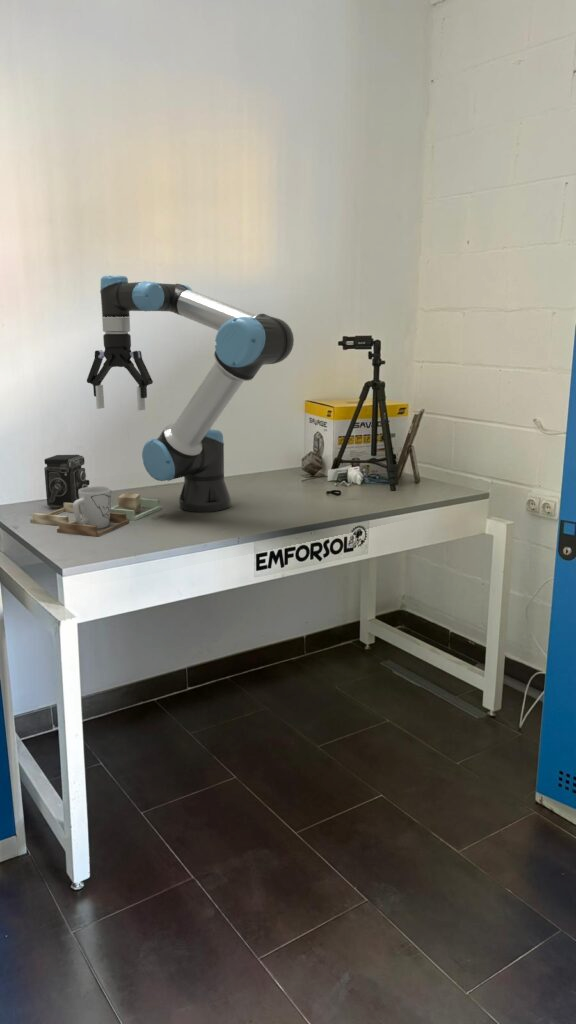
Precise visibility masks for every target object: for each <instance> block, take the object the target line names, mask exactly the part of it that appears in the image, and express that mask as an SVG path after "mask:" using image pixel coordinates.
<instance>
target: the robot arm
mask: <svg viewBox="0 0 576 1024" xmlns="http://www.w3.org/2000/svg"><path fill="white" fill-rule="evenodd" d="M99 293H100V301H101V302H100V304H101V319H102V320H101V321H102V331H103V332H104V334H103V347H104V351H103V350H102V349H101V350H98V349H97V350H95V351H94V359H93V362H92V365H91V367H90V369H89V373H88V375H87V378H86V382H87V383H88V384H90V385H92V386H93V396H94V397H95V398H96V399H95V400H96V409H97V410H99V409H100V410H101V409H104V408H105V399H104V398H105V397H104V396H105V395H104V384H102V382H103V381H104V379H105V378H106V376H107V375H108V373H110V371H111V368H117V367H119V368H125V369H126V370H127V372H128V373H129V374H130V376H132V378H133V379H134V380H135V382H136V383H137V384H138V386H136V394H137V396H136V397H137V411H143V410H144V411H145V410H146V399H147V398H148V388H147V386H151V385H152V384H153V383H154V380H153V379H152V376H151V374H150V372H149V370H148V368H147V366H146V364H145V362H144V359H143V355H142V351H141V350H134V351H131V347H132V338H131V334H130V333H129V332H131V320H130V319H131V318H130V317H131V315H130V312H131V311H132V312H170V313H174V314H177V316H178V315H179V316H181V317H184V318H186V319H188V320H191V321H194V322H195V323H198V324H201V325H203V326H205V327H208V328H211V329H213V330H215V331H217V333H216V336H215V342H216V344H215V345H214V348H215V350H214V353H213V356H214V357H213V358H214V360H215V362H214V363H213V365H212V367H210V369H209V371H208V372H207V374H206V375H205V377H204V379H203V380H202V382H201V383H200V385H199V386H198V387H197V389H196V391H195V392H194V393H193V395H192V397H191V398H190V399H189V402H187V404H186V406H185V407H184V409H183V411H182V412H181V413H180V415H179V416H178V418H177V419H176V421H175V423H169V424H167V425H166V426H165V427H164V428H163V430H162V432H161V433H160V434H159V436H158V437H157V438H151V439H150V440H148V441H146V442H145V443H144V445H143V446H142V452H141V453H142V454H141V457H142V461H143V462H142V463H143V466H144V468H145V469H144V470H145V471H146V472H147V474H148V475H149V476H150V478H152V479H154V480H156V481H158V482H159V481H160V482H165V481H168V482H169V481H172V480H177V479H179V478H184V479H183V480H184V481H183V485H182V487H181V492H180V495H179V499H178V502H179V503H178V505H179V509H181V510H184V511H188V512H194V513H195V512H198V513H199V512H201V513H202V512H203V513H205V512H217V511H218V512H219V511H222V510H225V509H226V510H227V509H229V508H230V507H231V506H232V505H231V504H232V503H231V495H230V493H229V491H228V487H227V484H226V482H225V458H224V457H225V455H224V454H225V453H224V452H225V451H224V449H225V447H224V445H225V443H224V436H223V432H222V431H220V430H219V429H212V427H213V425H215V423H216V422H217V419H218V418H219V417H220V415H222V413H223V411H224V410H225V408H227V406H228V405H229V403H230V401H231V400H232V398H233V397H234V396H235V394H236V393H237V392H238V390H239V388H240V387H242V384H243V383H244V382H247V381H248V382H249V381H252V380H253V379H254V378H255V376H256V375H257V374H258V372H259V371H260V369H261V368H262V367H263V366H264V365H274V364H275V365H276V364H278V363H281V362H283V361H284V360H285V359H286V358H288V357H289V356H290V354H291V352H292V350H293V348H294V341H295V340H294V339H295V338H294V337H295V336H294V333H293V330H292V328H291V327H290V325H289V324H288V323H287V322H286V321H285V320H283V319H280V318H278V317H274V316H272V315H271V316H270V315H268V314H265V313H261V312H260V313H258V314H254V313H251V312H249V311H246V310H244V309H241V308H239V307H236V306H233V305H232V304H231V305H230V304H228V303H225V302H223V301H220V300H218V299H215V298H212V297H210V296H207V295H204V294H202V293H199V292H197V291H194V290H193V289H192V288H191V287H190V286H188V285H185V284H183V283H182V284H181V283H161V282H160V283H159V282H155V281H137V282H136V281H135V282H129V280H128V277H127V276H126V275H119V274H118V275H117V274H115V275H114V274H113V275H102V277H101V278H100V290H99ZM104 358H105V359H106V360H105V361H104V363H103V360H104ZM131 358H132V359H133V361H132V360H131ZM133 362H134V363H135V364H134V363H133ZM102 363H103V365H102ZM135 365H136V366H135ZM101 366H102V367H101ZM100 368H101V369H100Z"/></svg>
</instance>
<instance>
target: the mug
mask: <svg viewBox="0 0 576 1024" xmlns="http://www.w3.org/2000/svg"><path fill="white" fill-rule="evenodd" d="M78 494H79V499H78V500H76V501H75V502H74V503H73V511H74V512H73V516H74V520H76V522H77V523H78V524H82V525H92V526H97V530H98V529H99V530H100V529H106V528H108V527H109V526H110V522H109V521H110V512H111V508H112V488H111V487H108V486H101V485H100V486H98V485H96V486H88V487H85V488H81V489H79V491H78ZM79 505H80V508H81V513H79ZM82 517H83V519H82V520H81V518H82Z"/></svg>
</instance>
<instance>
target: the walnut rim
mask: <svg viewBox="0 0 576 1024" xmlns="http://www.w3.org/2000/svg"><path fill="white" fill-rule="evenodd" d="M81 520H82V519H81ZM109 523H114V525H112V526H108V527H106V528H103V529H102V530H99V531H98V529H97V526H92V525H85V524H83V525H82V524H78V523H77V522H74V523H62V522H61V523H59V525H58V528H57V529H56V532H57V533H61V534H71V535H79V534H80V535H81V536H88V535H89V537H101V536H103V535H106V534H107V533H110V532H112V531H114V530H117V529H119V528H121V527H123V526H126V525H128V524H130V519H126V514H123V513H112V512H110V521H109ZM115 523H116V524H115Z"/></svg>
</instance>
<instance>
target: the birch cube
mask: <svg viewBox="0 0 576 1024" xmlns="http://www.w3.org/2000/svg"><path fill="white" fill-rule="evenodd" d="M140 498H141V493H122V494H121V495H119V496H118V497H117V501H118V502H117V503H118V504H117V505H118V506H119V509H125V510H134V514H135V516H137V515H139V514H140V512H141V511H142V510H141V508H142V507H141V503H140Z"/></svg>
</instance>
